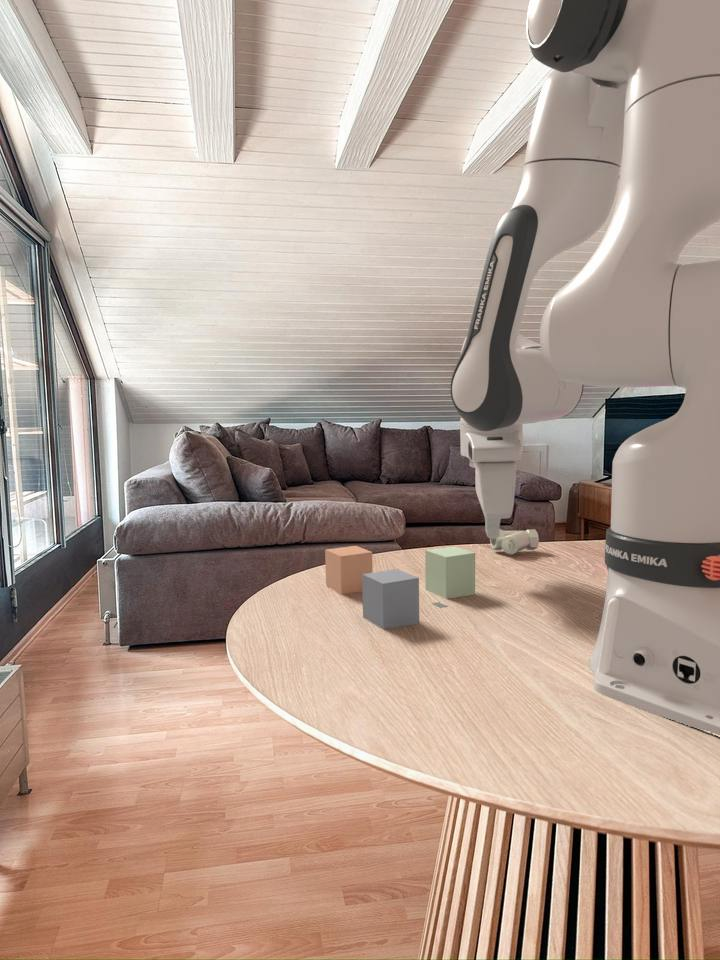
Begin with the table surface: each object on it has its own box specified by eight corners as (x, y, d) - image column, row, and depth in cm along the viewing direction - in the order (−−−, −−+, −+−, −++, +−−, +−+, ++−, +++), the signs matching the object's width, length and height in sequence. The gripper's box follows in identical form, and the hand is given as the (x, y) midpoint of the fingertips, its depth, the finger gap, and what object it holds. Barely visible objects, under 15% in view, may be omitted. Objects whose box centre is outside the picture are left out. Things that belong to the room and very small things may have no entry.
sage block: (475, 594, 90) (475, 552, 89) (445, 600, 88) (445, 557, 87) (453, 586, 94) (453, 546, 94) (425, 591, 92) (425, 550, 91)
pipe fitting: (503, 536, 112) (490, 527, 118) (502, 557, 112) (489, 547, 119) (547, 536, 113) (532, 527, 119) (545, 557, 113) (530, 547, 120)
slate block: (419, 626, 77) (419, 577, 77) (383, 633, 75) (382, 583, 74) (397, 614, 82) (397, 568, 81) (363, 621, 79) (362, 574, 79)
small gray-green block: (447, 607, 84) (447, 606, 84) (440, 608, 84) (440, 607, 84) (438, 603, 86) (438, 602, 86) (431, 604, 85) (431, 603, 85)
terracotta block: (372, 593, 91) (372, 552, 91) (341, 598, 89) (340, 556, 88) (356, 585, 96) (355, 545, 95) (326, 590, 93) (325, 549, 93)
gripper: (465, 437, 103) (467, 521, 105) (473, 451, 83) (474, 554, 85) (505, 435, 102) (506, 520, 105) (522, 449, 82) (523, 553, 85)
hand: (492, 536), depth 95 cm, fingers closed
